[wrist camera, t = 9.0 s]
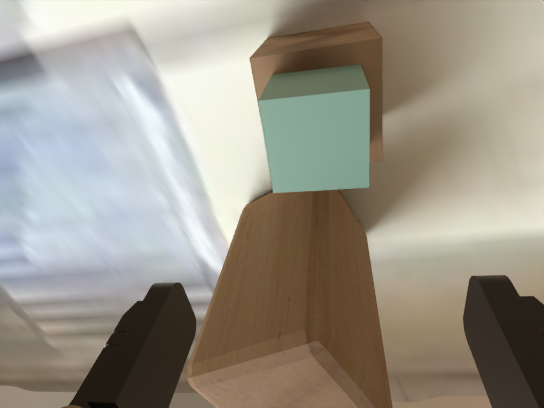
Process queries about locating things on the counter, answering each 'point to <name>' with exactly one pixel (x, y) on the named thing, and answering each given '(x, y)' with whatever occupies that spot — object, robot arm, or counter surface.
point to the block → (293, 311)
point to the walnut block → (327, 63)
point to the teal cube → (317, 129)
